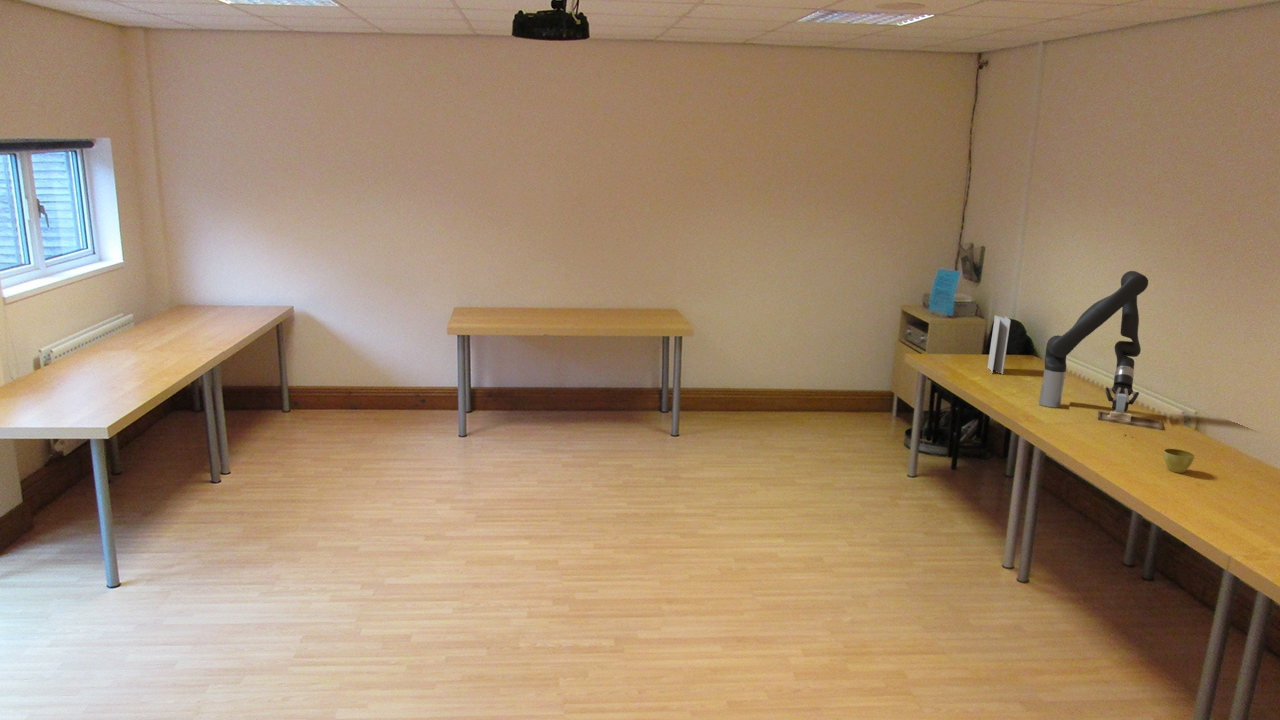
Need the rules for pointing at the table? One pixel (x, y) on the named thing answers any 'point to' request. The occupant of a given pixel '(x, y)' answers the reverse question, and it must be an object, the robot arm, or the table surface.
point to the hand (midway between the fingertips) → (1119, 409)
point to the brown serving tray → (1133, 421)
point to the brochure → (999, 344)
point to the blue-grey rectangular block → (1120, 403)
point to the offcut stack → (1119, 416)
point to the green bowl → (1178, 460)
